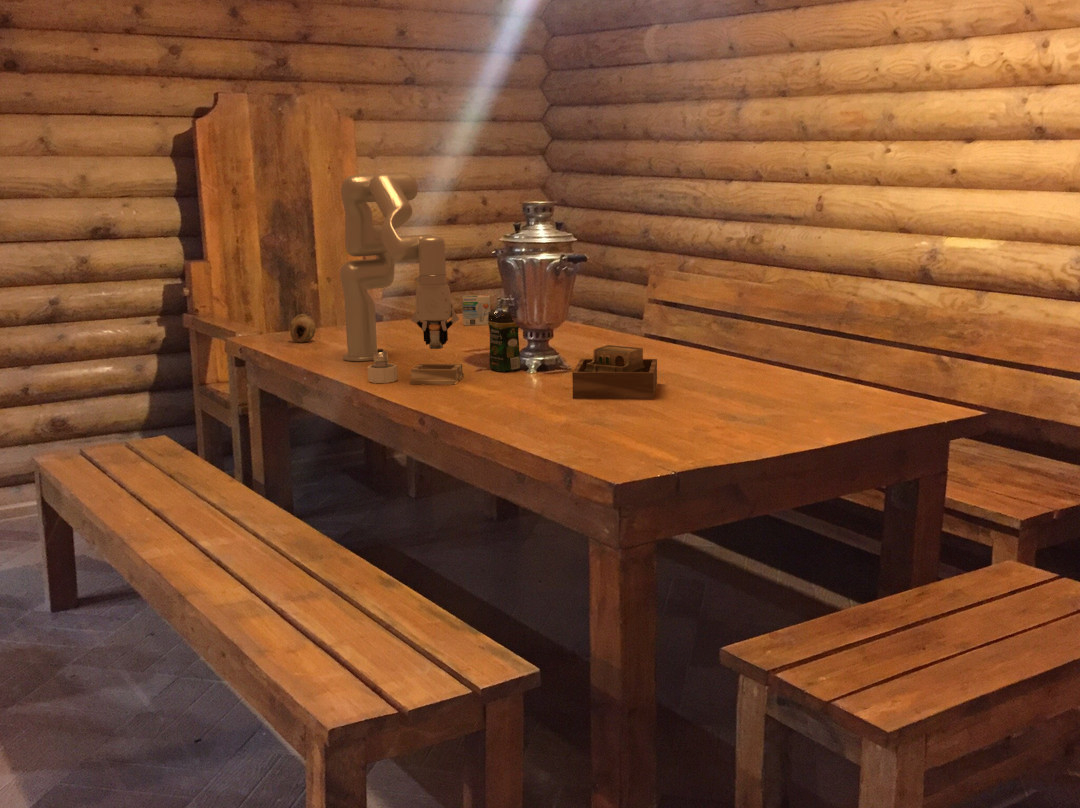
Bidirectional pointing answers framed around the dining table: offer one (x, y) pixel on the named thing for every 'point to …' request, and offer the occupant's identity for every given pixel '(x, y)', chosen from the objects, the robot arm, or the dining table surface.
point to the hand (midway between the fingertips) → (436, 343)
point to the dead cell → (380, 359)
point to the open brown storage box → (615, 382)
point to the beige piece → (382, 374)
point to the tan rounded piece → (302, 328)
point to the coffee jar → (503, 343)
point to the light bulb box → (476, 309)
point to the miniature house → (616, 359)
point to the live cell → (435, 334)
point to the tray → (436, 374)
